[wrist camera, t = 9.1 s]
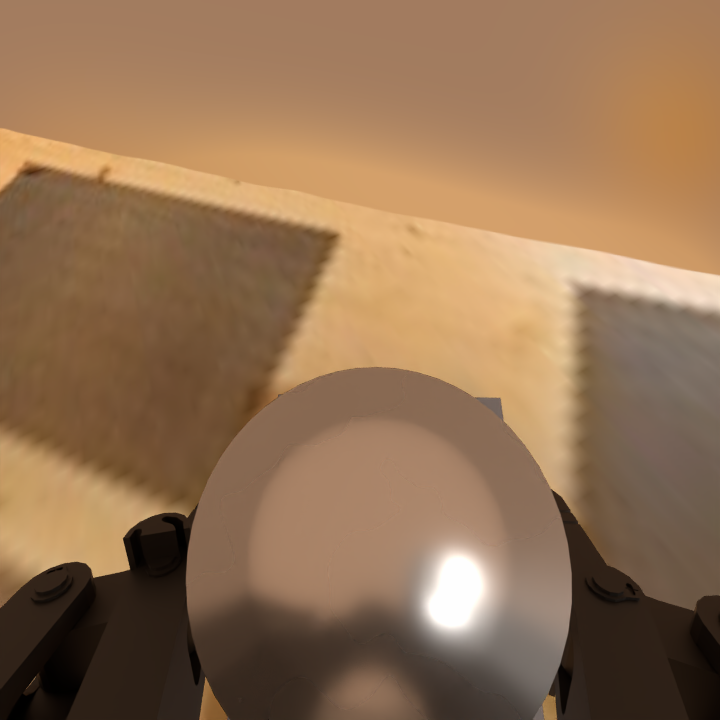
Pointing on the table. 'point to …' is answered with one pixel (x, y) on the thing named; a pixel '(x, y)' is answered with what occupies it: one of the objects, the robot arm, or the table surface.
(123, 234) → the table surface
